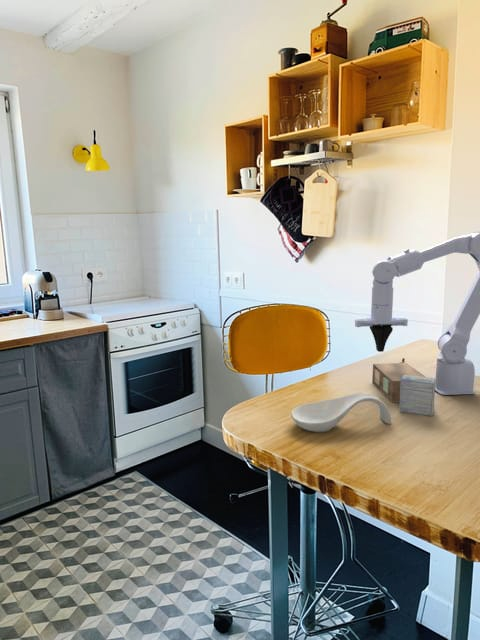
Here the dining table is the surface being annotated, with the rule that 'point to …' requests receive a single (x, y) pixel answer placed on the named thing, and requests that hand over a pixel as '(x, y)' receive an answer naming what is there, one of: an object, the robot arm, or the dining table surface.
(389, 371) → the walnut block
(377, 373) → the beech bar
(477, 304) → the robot arm
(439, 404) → the dining table surface
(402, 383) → the medicine box
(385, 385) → the sage bar
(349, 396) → the spoon rest
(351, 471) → the dining table surface
